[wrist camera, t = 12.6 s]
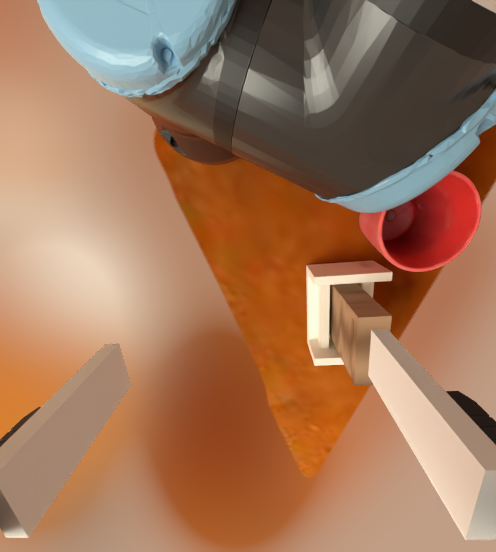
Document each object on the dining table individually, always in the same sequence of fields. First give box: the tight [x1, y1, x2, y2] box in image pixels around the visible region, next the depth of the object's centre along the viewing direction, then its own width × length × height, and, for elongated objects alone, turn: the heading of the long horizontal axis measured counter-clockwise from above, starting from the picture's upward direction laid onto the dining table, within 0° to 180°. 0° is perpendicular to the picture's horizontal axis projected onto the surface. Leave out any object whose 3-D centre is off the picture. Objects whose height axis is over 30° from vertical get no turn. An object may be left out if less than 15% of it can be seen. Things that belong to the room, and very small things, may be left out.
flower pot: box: [359, 171, 481, 272], centre depth 31 cm, size 11×11×10 cm
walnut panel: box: [329, 283, 392, 385], centre depth 34 cm, size 9×4×12 cm, turn 5°
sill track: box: [306, 260, 393, 366], centre depth 38 cm, size 14×10×6 cm
